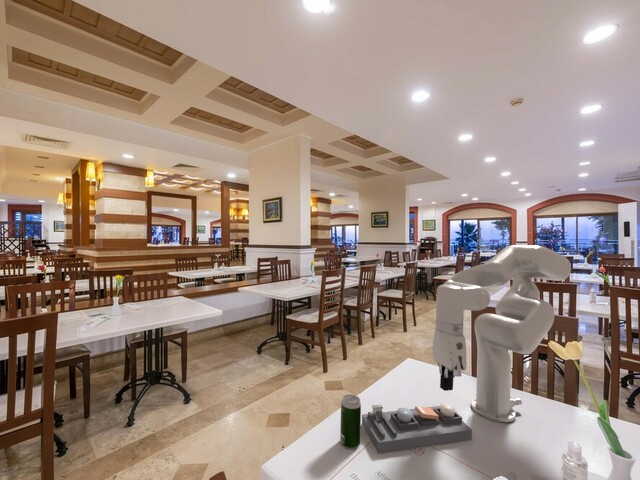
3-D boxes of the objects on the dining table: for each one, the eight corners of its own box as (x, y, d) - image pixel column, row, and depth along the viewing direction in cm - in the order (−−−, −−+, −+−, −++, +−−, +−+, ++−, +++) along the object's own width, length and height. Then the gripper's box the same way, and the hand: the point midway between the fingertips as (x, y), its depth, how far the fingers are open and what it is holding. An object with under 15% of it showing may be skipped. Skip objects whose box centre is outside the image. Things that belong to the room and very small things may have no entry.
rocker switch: (429, 411, 87) (430, 407, 87) (438, 419, 83) (438, 415, 83) (414, 409, 86) (415, 405, 86) (422, 417, 82) (422, 413, 82)
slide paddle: (379, 415, 86) (380, 403, 86) (383, 420, 84) (383, 408, 84) (371, 416, 86) (371, 404, 86) (374, 421, 83) (374, 409, 83)
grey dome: (407, 413, 86) (407, 407, 86) (414, 422, 82) (414, 415, 82) (394, 415, 85) (394, 408, 85) (401, 423, 81) (401, 416, 81)
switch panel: (444, 414, 93) (445, 400, 93) (471, 440, 81) (472, 424, 81) (361, 424, 87) (362, 409, 87) (378, 453, 75) (378, 436, 75)
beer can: (348, 453, 75) (349, 407, 75) (336, 441, 79) (337, 397, 79) (364, 445, 78) (365, 401, 78) (351, 434, 82) (352, 392, 82)
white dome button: (449, 408, 89) (449, 402, 89) (457, 416, 85) (458, 410, 85) (437, 410, 88) (437, 403, 88) (445, 418, 84) (445, 411, 84)
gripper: (478, 334, 79) (475, 402, 79) (444, 320, 94) (441, 376, 94) (454, 335, 78) (451, 404, 78) (423, 320, 92) (421, 378, 92)
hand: (446, 389), depth 86 cm, fingers closed
